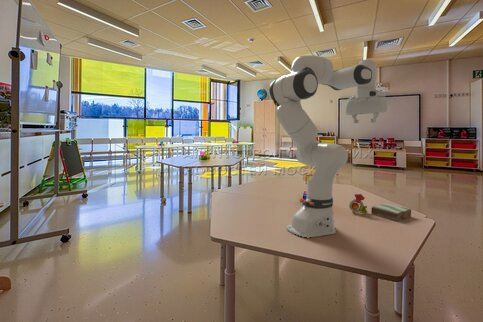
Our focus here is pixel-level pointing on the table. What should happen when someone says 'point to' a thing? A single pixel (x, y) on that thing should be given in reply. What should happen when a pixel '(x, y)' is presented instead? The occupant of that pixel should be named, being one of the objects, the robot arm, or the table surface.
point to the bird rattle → (355, 206)
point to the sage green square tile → (391, 212)
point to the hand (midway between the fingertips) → (364, 123)
